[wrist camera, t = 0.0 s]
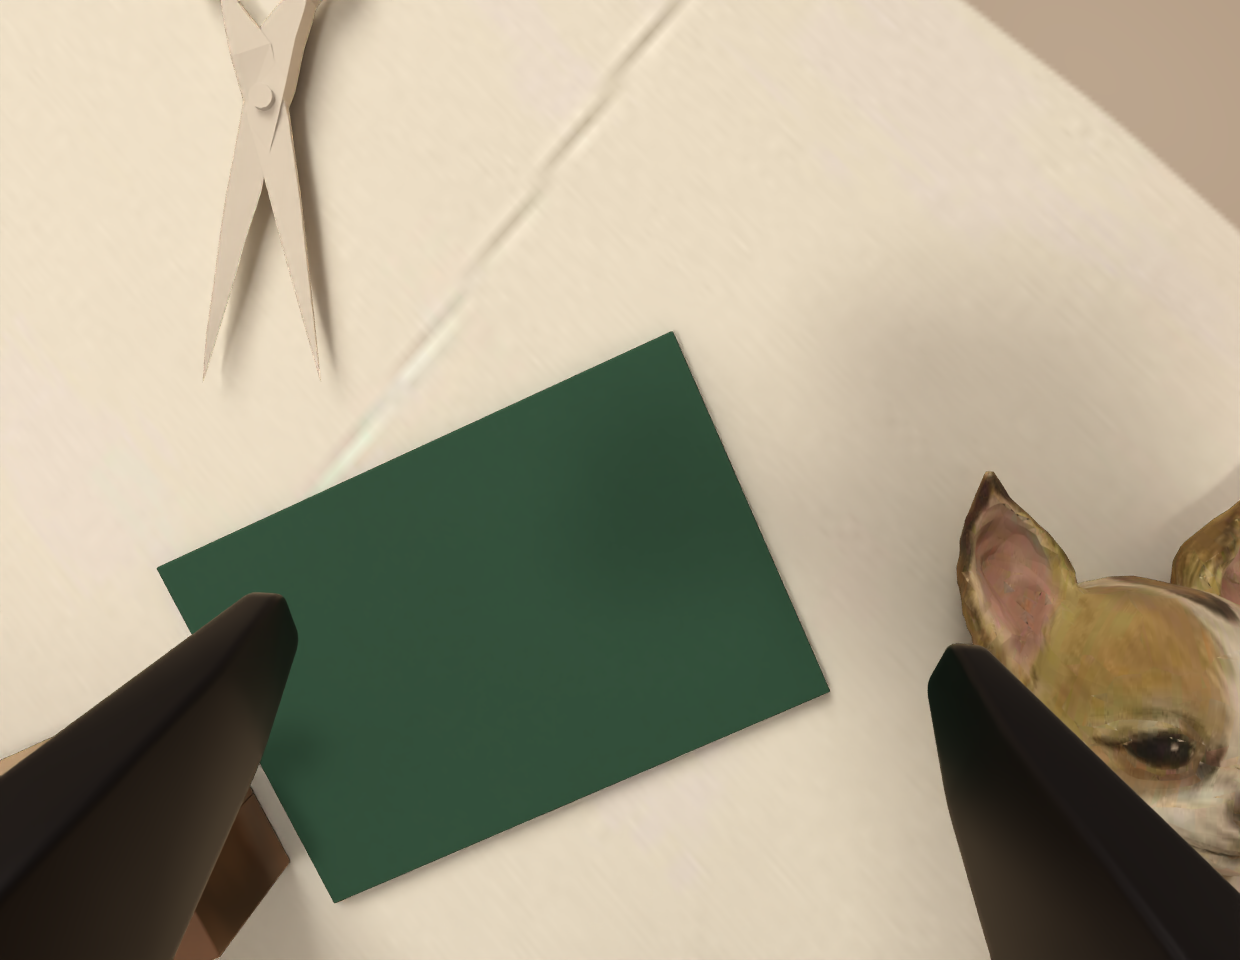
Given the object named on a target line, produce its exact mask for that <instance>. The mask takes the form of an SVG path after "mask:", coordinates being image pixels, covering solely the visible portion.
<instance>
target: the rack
mask: <svg viewBox="0 0 1240 960" xmlns="http://www.w3.org/2000/svg"><path fill="white" fill-rule="evenodd" d="M51 738H52V737H51ZM51 738H49V739H47V740H45V741H42V742H40V743H38V744H36V745H34V746H31V747H29V748H27V749H25V750H22V751H20V752H18V753H16V754H14V755H11V756H9V757H7V758H5V759H2V760H0V776H1V775H2V774H4V773H5V772H6V771H8V770H9V769H10V768H12V767H13V766H14V765H16V764H17V763H18V762H20V761H21V760H23V759H24V758H25V757H27V756H28V755H29V754H31V753H32V752H33V751H35V750H36V749H37V748H39V747H40V746H42V745H43V744H44V743H46V742H47V741H48V740H50V739H51ZM289 863H290V861H289V859H288V857H287V855H286V853H285V851H284V849H283V847H282V846H281V844H280V842H279V840H278V838H277V836H276V834H275V832H274V831H273V829H272V827H271V825H270V823H269V821H268V819H267V817H266V816H265V814H264V812H263V810H262V808H261V806H260V804H259V802H258V801H257V799H256V797H255V795H254V794H253V791H252V789H251V788H250V787H249V789H248V791H247V793H246V796H245V798H244V800H243V803H242V805H241V807H240V809H239V812H238V814H237V816H236V818H235V821H234V823H233V825H232V827H231V830H230V832H229V834H228V836H227V839H226V841H225V843H224V846H223V848H222V850H221V852H220V855H219V857H218V859H217V861H216V864H215V866H214V868H213V870H212V873H211V875H210V877H209V880H208V882H207V884H206V886H205V889H204V891H203V893H202V895H201V898H200V900H199V902H198V904H197V907H196V909H195V911H194V914H193V916H192V918H191V920H190V923H189V925H188V927H187V929H186V932H185V934H184V936H183V938H182V941H181V943H180V945H179V947H178V950H177V952H176V954H175V957H174V959H173V960H214V959H216V958H218V957H220V956H221V955H222V953H223V952H224V951H225V949H226V948H227V947H228V945H229V944H230V942H231V941H232V940H233V938H234V937H235V936H236V934H237V933H238V932H239V930H240V929H241V928H242V926H243V925H244V924H245V922H246V921H247V919H248V918H249V917H250V915H251V914H252V913H253V911H254V910H255V909H256V907H257V906H258V905H259V903H260V902H261V900H262V899H263V898H264V896H265V895H266V894H267V892H268V891H269V890H270V888H271V887H272V886H273V884H274V883H275V882H276V880H277V879H278V877H279V876H280V875H281V873H282V872H283V871H284V869H285V868H286V867H287V865H288V864H289Z"/></svg>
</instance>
